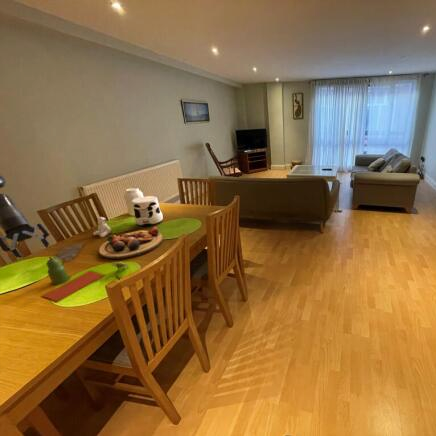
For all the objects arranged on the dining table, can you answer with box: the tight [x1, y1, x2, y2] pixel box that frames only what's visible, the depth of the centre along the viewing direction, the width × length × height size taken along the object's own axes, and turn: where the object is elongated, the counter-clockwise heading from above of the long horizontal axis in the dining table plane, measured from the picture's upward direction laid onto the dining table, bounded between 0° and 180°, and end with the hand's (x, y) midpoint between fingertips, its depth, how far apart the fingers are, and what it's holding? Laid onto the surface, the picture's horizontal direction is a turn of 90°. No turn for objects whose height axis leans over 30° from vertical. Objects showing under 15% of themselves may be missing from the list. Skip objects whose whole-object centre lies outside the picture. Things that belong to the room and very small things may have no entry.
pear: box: [46, 256, 70, 286], centre depth 109 cm, size 6×6×13 cm
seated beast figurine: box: [92, 216, 112, 239], centre depth 154 cm, size 10×9×12 cm
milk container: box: [132, 195, 164, 227], centre depth 170 cm, size 17×17×18 cm
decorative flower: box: [110, 261, 130, 280], centre depth 115 cm, size 8×6×15 cm
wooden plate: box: [98, 226, 163, 260], centre depth 141 cm, size 32×32×8 cm
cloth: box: [42, 270, 105, 303], centre depth 108 cm, size 19×10×1 cm, turn 160°
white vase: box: [123, 187, 144, 217], centre depth 187 cm, size 12×12×20 cm
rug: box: [52, 243, 84, 263], centre depth 134 cm, size 10×20×1 cm, turn 26°
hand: (34, 252), depth 102 cm, fingers open, 8 cm apart
